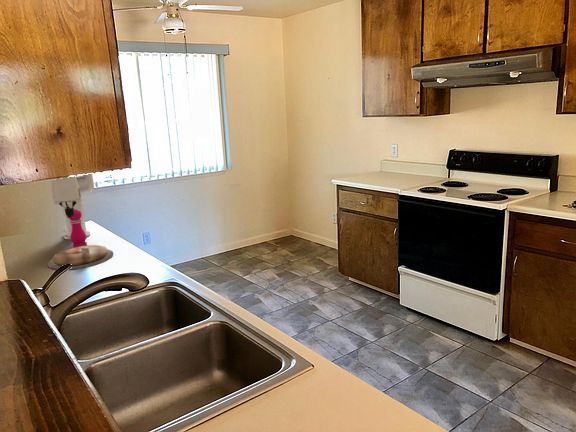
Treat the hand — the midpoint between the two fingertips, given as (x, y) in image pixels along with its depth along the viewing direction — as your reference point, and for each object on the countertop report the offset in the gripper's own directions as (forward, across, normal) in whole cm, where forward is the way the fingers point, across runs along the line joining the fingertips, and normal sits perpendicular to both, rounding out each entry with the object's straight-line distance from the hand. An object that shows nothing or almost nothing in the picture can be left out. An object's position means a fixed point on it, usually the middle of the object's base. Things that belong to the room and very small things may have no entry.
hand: (70, 216), depth 194 cm
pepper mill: (+22, -7, +28) cm, 36 cm away
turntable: (+21, -1, +7) cm, 22 cm away
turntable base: (+21, -1, +7) cm, 22 cm away
